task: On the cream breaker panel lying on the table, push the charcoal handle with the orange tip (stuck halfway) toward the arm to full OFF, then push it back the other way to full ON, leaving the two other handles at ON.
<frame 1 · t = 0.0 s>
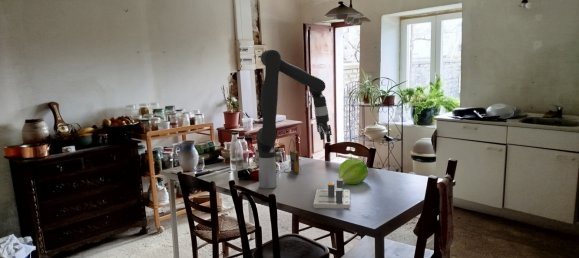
hand: (325, 140, 235), 22 cm above the table, fingers open, 8 cm apart
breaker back: (339, 185, 207), point 5 cm above the table, slide at 8.0 cm
lettuce: (351, 184, 226), on the table
breaker tripped: (331, 189, 200), point 5 cm above the table, slide at 4.0 cm
breaker panel: (332, 200, 201), on the table
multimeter: (289, 172, 254), on the table
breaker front: (339, 195, 192), point 5 cm above the table, slide at 8.0 cm
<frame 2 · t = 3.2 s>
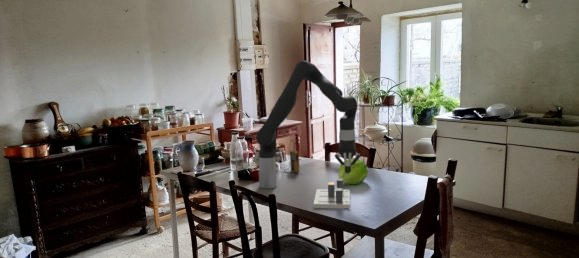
hand: (347, 173, 198), 14 cm above the table, fingers closed
nothing on the table moved.
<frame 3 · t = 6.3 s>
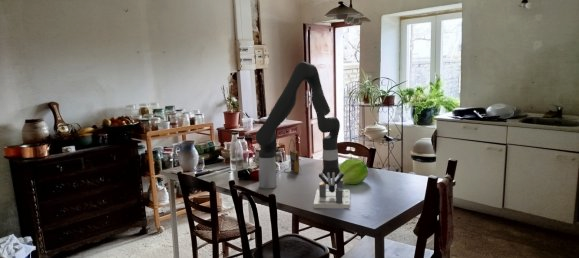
hand: (332, 192, 200), 4 cm above the table, fingers closed
breaker tripped: (322, 189, 201), point 6 cm above the table, slide at -0.3 cm, touching gripper, hand
everything else where it was.
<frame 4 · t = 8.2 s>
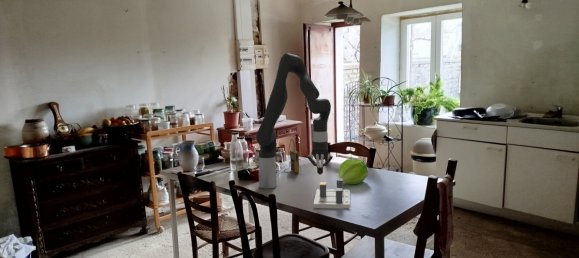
hand: (320, 174, 200), 13 cm above the table, fingers closed
breaker tripped: (323, 189, 201), point 5 cm above the table, slide at -0.1 cm
everything else where it was.
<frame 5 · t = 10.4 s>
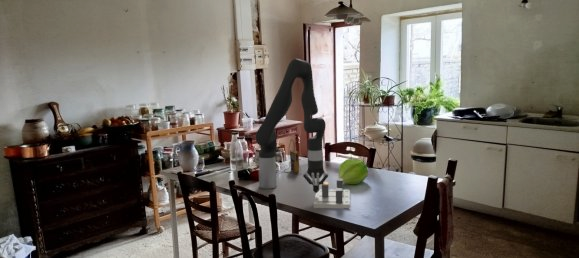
hand: (316, 192, 201), 4 cm above the table, fingers closed
breaker tripped: (325, 189, 201), point 5 cm above the table, slide at 1.0 cm, touching gripper
everything else where it was.
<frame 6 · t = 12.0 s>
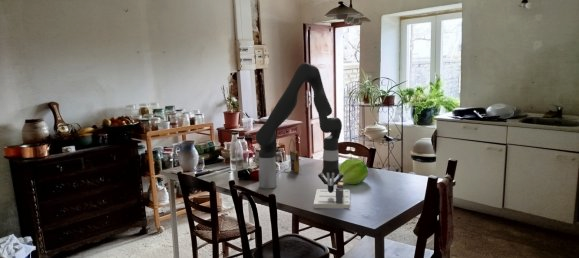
hand: (330, 192, 200), 4 cm above the table, fingers closed
breaker tripped: (340, 189, 200), point 5 cm above the table, slide at 8.3 cm, touching gripper, hand
everything else where it was.
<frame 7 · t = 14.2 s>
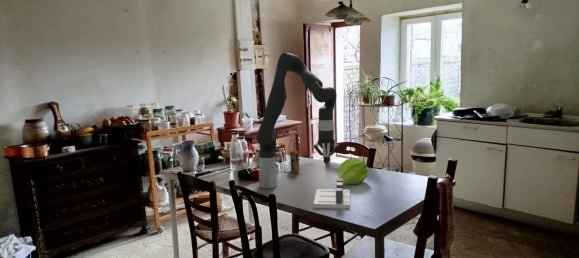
hand: (326, 163, 198), 19 cm above the table, fingers closed
breaker tripped: (339, 189, 200), point 5 cm above the table, slide at 8.1 cm
everything else where it was.
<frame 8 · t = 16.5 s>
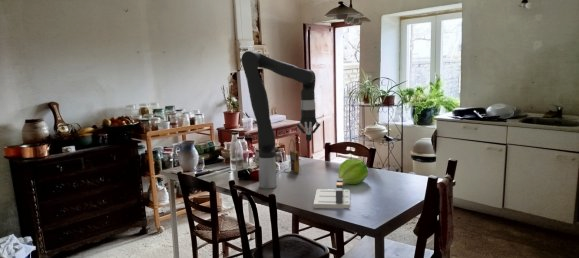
hand: (308, 141, 213), 27 cm above the table, fingers closed
nothing on the table moved.
at the end: breaker tripped slide at 8.1 cm; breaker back slide at 8.0 cm; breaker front slide at 8.0 cm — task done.
